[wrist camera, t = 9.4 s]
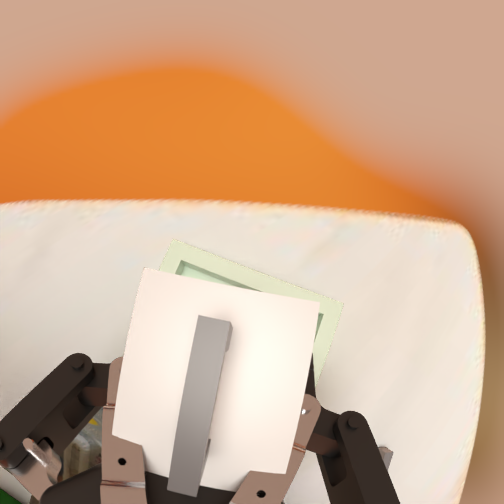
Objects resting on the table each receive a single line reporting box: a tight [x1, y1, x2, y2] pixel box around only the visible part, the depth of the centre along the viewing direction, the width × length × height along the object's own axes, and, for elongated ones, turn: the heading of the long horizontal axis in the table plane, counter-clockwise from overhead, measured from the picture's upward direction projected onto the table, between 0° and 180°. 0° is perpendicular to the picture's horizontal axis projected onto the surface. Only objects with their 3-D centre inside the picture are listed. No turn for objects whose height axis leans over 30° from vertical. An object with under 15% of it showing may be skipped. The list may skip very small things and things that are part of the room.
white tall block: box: [112, 267, 320, 497], centre depth 11 cm, size 5×6×13 cm
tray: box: [158, 239, 344, 387], centre depth 20 cm, size 13×13×2 cm
